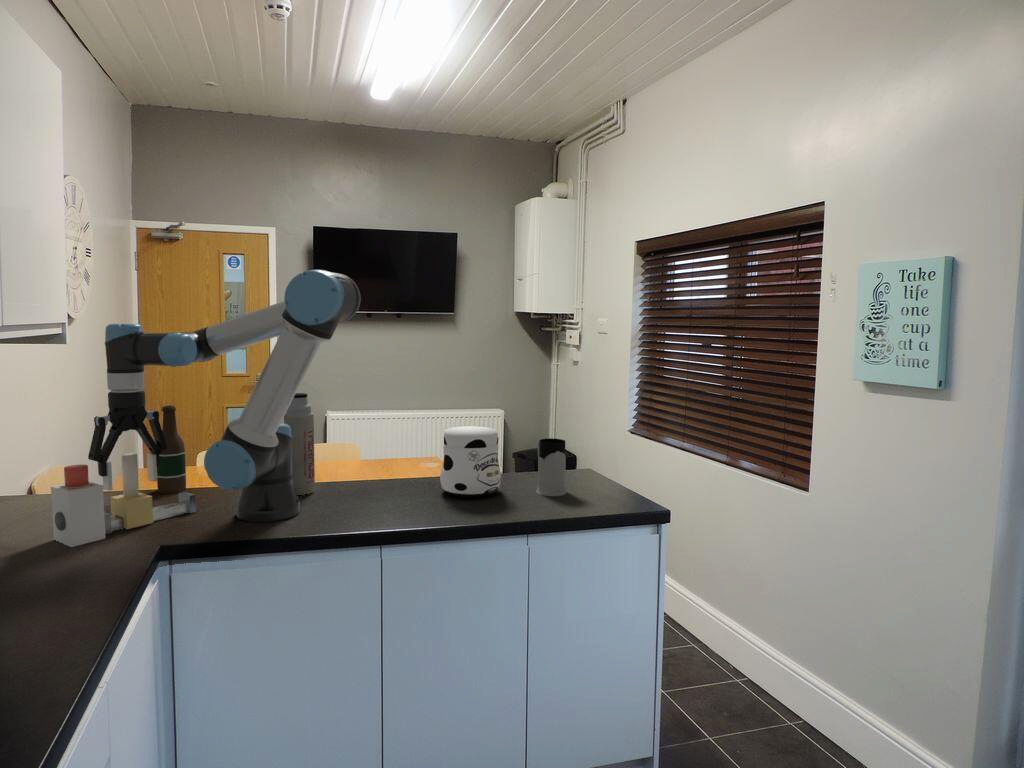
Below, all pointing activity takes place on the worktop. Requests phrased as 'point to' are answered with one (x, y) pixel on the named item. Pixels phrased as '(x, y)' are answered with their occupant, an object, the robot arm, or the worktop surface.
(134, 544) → the worktop surface
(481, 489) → the milk container
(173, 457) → the beer bottle
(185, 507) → the rail
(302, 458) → the thermos bottle
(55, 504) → the white button housing
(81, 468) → the gauge button
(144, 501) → the carriage
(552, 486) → the glass holder
